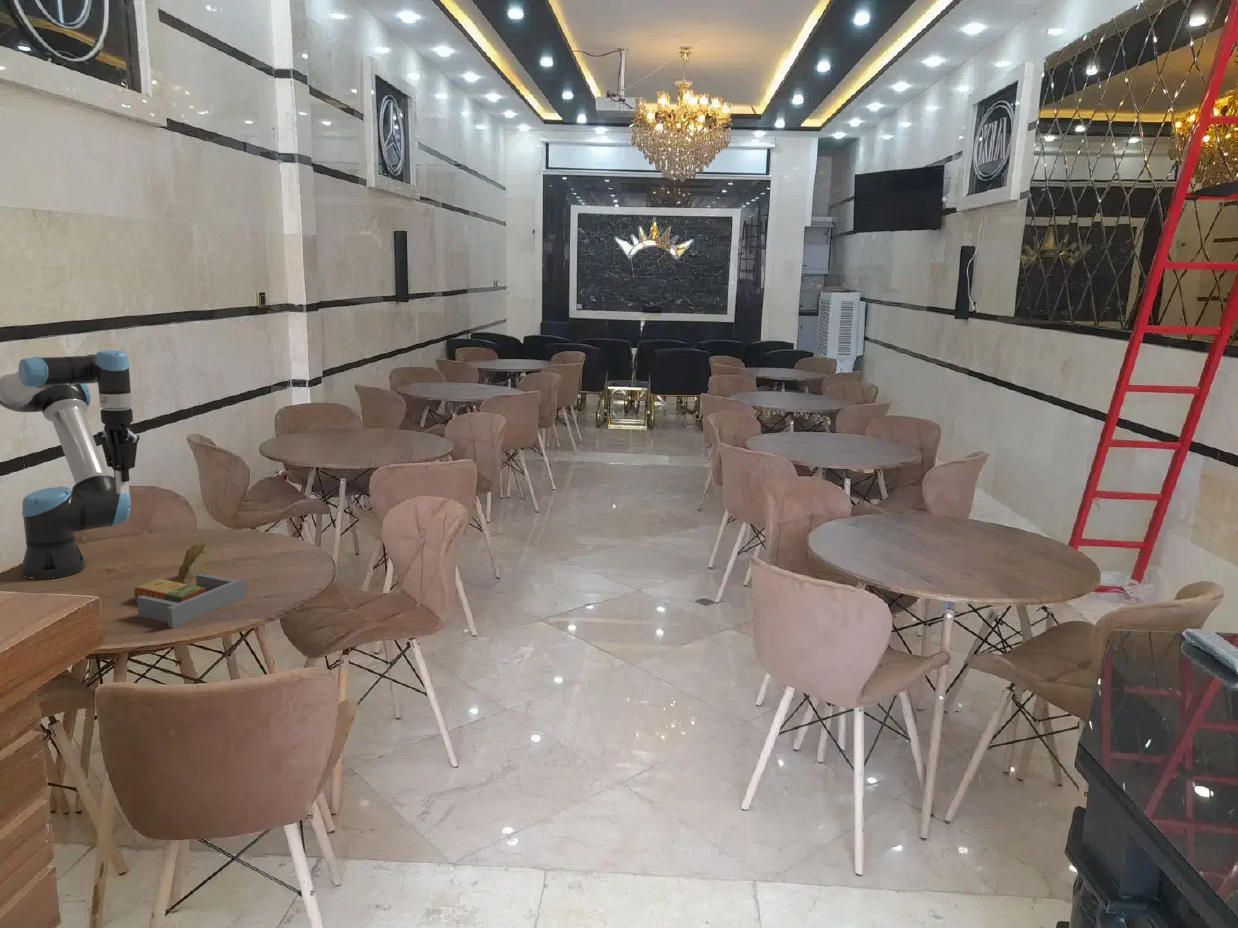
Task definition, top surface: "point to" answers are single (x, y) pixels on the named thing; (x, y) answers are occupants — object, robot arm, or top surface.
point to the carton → (168, 590)
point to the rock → (193, 563)
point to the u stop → (193, 601)
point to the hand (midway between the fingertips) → (123, 492)
